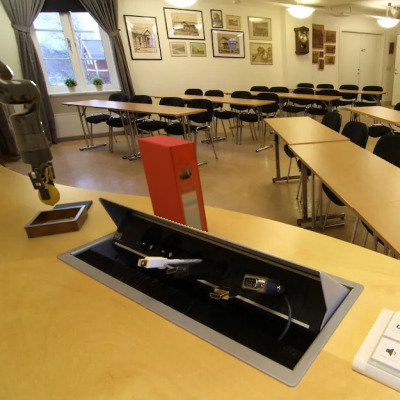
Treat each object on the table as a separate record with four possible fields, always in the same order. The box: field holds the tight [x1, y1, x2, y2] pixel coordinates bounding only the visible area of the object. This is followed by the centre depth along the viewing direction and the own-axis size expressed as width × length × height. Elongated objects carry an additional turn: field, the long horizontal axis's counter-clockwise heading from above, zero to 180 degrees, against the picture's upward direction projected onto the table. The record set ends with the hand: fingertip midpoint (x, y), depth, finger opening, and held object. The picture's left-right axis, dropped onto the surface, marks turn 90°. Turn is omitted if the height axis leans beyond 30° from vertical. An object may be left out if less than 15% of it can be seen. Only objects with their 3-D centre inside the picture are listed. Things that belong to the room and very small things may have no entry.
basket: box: [23, 205, 89, 239], centre depth 111 cm, size 14×14×4 cm
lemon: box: [37, 184, 61, 207], centre depth 107 cm, size 6×6×8 cm
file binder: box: [137, 134, 209, 233], centre depth 98 cm, size 8×17×32 cm, turn 53°
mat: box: [52, 199, 93, 212], centre depth 125 cm, size 12×10×1 cm
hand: (49, 196), depth 107 cm, fingers closed on lemon, 5 cm apart
